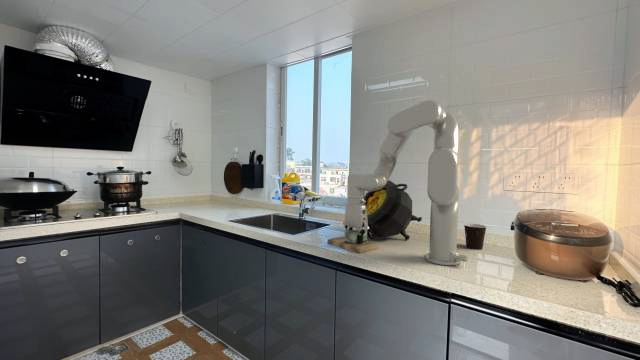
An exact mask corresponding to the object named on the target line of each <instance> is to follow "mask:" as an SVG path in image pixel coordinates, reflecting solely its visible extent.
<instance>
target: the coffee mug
mask: <svg viewBox="0 0 640 360" xmlns="http://www.w3.org/2000/svg"><path fill="white" fill-rule="evenodd" d="M486 232H487V225H484V224H480V223H464V237H465V245H466V248H467V249H469V250H475V251H478V250H480V251H482V250H483V247H484V244H485V243H484V242H485V237H486Z"/></svg>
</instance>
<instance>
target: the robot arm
mask: <svg viewBox="0 0 640 360" xmlns="http://www.w3.org/2000/svg"><path fill="white" fill-rule="evenodd" d="M386 126H387V130H388V132H387V134H386V135H385V138H384V140H383V142H382V143H381V145H380V147H379V161H378V163H377V166H376V168H375V170H374V171H373V173H366V174H362V173H350V174H348V175H347V190H346V191H347V193H346V194H347V195H346V197H347V199H346V202H347V203H346V204H345V205H346V206H345V210H344V220H343V222H342V225H343V226H344V228H345V231H349V230H354V228H355V229H358V234H359V235H357V244H362V243H363V235H364V234H365V232H366V231H367V230H369V226H368V219H367V209H366V205H364V203H366V200H364V196H365V192H369V191H376V190H380V189H382V188H383V187H384V186H385V185H386V183H387V181H389V180H390V178H391V176H392V174H393V172H394V170H395V167H396V165H397V162H398V159H399V157H400V155H401V153H402V152H403V150H404V148H405V146H406V145H407V142H408V141H409V139H410V137H411V135H412V133H413V131H414V130H417V129H419V128H422V127H425V126H426V127H429V128H431V129H433V132H434V134H433V135H434V136H433V152H431V153H430V155H429V158H428V161H427V163H428V164H427V187H426V188H427V191H426V192H427V196H428V198H429V199H430V214H429V215H430V219H429V220H430V221H429V253H426V254H425V256H424V259H425V260H426V261H427V262H429V263H432V264H434V265H435V264H437V265H441V266H457V265H460V264H461V263H462V262H463V263H467V262H468V260H469V258H468V256H467V255H466V254H462V253H460V249H458V248H457V246H458V218H459V216H458V215H459V201H460V191H459V190H460V188H459V186H458V170H459V169H458V167H459V164H460V158H459V148H460V147H459V134H460V133H459V124H458V121H457V120H456V118H455V116H454V115H453V114H452V113H451V112H449V111H448V110H446V109H444V108H443V107H442V106H441V104H440V103H439V102H437V101H436V100H430V99H429V100H428V99H427V100H424V101H421V102H418V103H417V104H414V105H412V106H410V107H407V108H405V109H402V110H400V111H399V112H396V113H394V114H393V115H391V117H390V118H389V119H388V120H387V125H386ZM360 229H361V230H360Z"/></svg>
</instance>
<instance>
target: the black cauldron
mask: <svg viewBox="0 0 640 360" xmlns="http://www.w3.org/2000/svg"><path fill="white" fill-rule="evenodd" d="M400 187H401V188H400ZM407 189H408V184H406V183H398V184H396V183H395V182H393V181H391V180H390V179H389V180H388V181H387V183H386V185H385V186H384V187H383V188H382V189H380V190H376V191H367V192H366V193H365V194H364V200H366V203H364V205H366V209H367V219H368V226H369V230H367V239H369V240H375V237H377V238H387V237H390V238H391V237H395V236H398V235H401V236H402V237H403V238H404V240H405V241H408V240H410V235H408V234H407V232H406V230H407V228H408V227H409V225H410V223H411V222H412V221H417V222H418V223H420V222H422V219H423V217H422V216H420V217H417V216H416V215H414V214H413V200H412V198H411V195H409V193H407V192H406V191H405V190H407ZM370 234H371V235H370Z"/></svg>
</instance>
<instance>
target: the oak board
mask: <svg viewBox="0 0 640 360" xmlns="http://www.w3.org/2000/svg"><path fill="white" fill-rule="evenodd" d="M327 245H330V246H334V247H336V248H340V249H344V250H347V251H351V252H354V253H357V254H360V255H362V254H365V253H368V252H372V251H375V250H378V248H379V247H380V246H379V245H380V244H379V243H377V242H372V241H368V240H367V242H363V243H362V244H355V245H351V244H348V243H345V235H340V236H338V237H332V238H327Z"/></svg>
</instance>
